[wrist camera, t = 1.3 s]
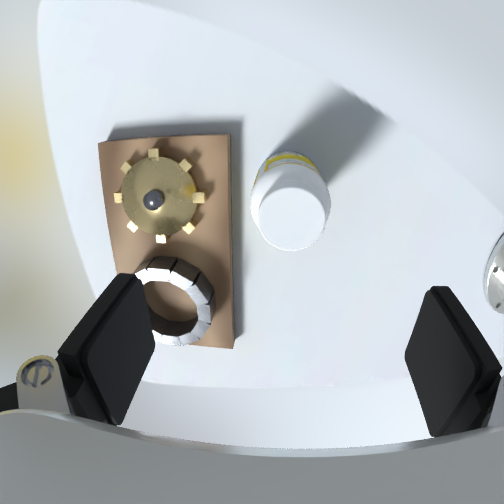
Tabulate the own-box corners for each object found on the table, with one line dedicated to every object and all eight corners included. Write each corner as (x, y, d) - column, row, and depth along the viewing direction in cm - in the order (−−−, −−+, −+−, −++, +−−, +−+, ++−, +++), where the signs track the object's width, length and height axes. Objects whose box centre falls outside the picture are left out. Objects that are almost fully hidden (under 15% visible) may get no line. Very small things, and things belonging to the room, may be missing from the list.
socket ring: (212, 258, 29) (206, 272, 27) (217, 333, 33) (213, 349, 31) (126, 254, 30) (114, 265, 28) (140, 325, 34) (132, 339, 32)
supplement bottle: (290, 222, 29) (292, 278, 20) (244, 182, 27) (224, 222, 19) (332, 180, 27) (356, 218, 18) (286, 136, 25) (288, 153, 17)
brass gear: (205, 145, 25) (198, 148, 23) (209, 240, 28) (203, 250, 27) (115, 150, 26) (103, 154, 24) (125, 236, 29) (115, 246, 27)
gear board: (230, 133, 26) (227, 135, 24) (234, 339, 35) (232, 348, 34) (106, 140, 27) (97, 143, 25) (137, 329, 36) (132, 336, 35)
